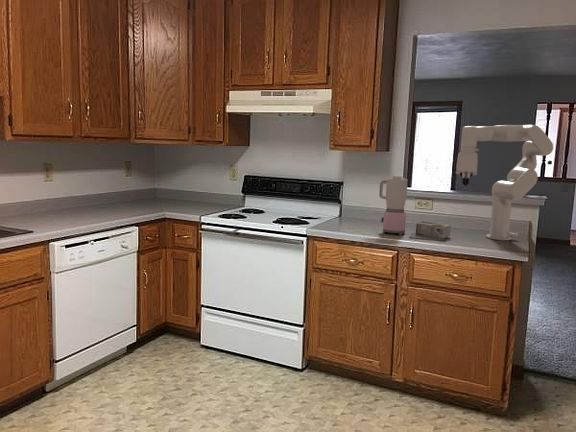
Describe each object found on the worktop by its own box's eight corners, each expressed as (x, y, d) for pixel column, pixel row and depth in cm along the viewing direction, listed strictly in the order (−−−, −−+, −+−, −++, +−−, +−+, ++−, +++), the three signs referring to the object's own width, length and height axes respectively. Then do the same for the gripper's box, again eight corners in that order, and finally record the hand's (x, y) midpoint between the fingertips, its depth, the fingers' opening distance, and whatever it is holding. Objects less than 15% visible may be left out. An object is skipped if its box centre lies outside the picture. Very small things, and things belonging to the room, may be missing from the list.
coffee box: (450, 236, 268) (422, 232, 278) (451, 224, 267) (423, 220, 277) (443, 238, 261) (415, 234, 271) (444, 226, 260) (416, 222, 270)
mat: (444, 236, 271) (445, 235, 271) (444, 241, 257) (444, 240, 257) (411, 233, 277) (411, 232, 276) (409, 237, 262) (409, 237, 262)
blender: (407, 232, 278) (411, 176, 273) (402, 236, 267) (406, 177, 262) (380, 229, 285) (383, 174, 280) (374, 232, 274) (377, 175, 269)
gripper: (483, 150, 256) (480, 185, 259) (453, 149, 260) (450, 184, 263) (484, 151, 249) (480, 187, 252) (453, 150, 253) (450, 185, 256)
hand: (465, 185), depth 257 cm, fingers closed
